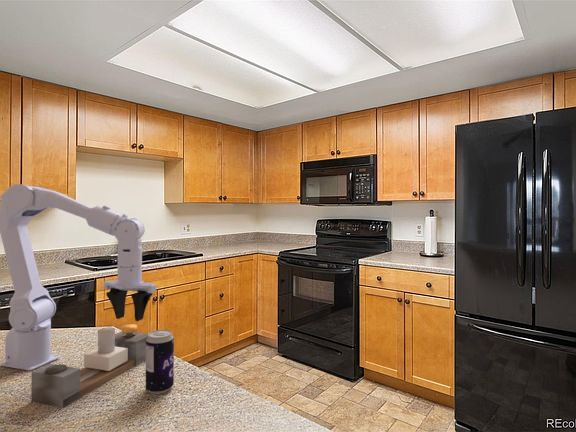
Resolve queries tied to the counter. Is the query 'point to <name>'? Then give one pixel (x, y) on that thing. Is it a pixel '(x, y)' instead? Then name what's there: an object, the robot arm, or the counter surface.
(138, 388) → the counter surface
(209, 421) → the counter surface
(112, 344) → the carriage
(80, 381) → the rail
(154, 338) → the beverage can
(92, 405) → the counter surface
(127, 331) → the button
